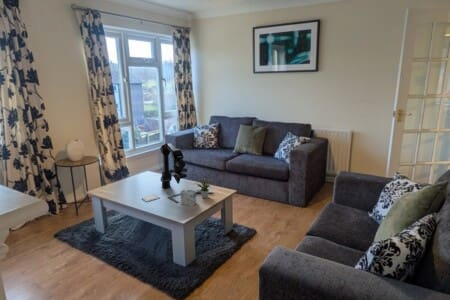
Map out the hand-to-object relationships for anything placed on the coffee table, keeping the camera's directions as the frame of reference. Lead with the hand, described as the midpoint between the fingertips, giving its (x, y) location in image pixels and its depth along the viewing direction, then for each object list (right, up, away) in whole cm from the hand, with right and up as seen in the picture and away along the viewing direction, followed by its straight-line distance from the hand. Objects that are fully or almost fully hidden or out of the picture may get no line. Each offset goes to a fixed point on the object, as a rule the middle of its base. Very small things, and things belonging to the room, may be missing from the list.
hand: (178, 183), depth 239 cm
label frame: (+1, -13, +2) cm, 13 cm away
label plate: (-23, -13, +4) cm, 27 cm away
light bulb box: (+9, -15, -7) cm, 19 cm away
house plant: (+22, -12, +7) cm, 26 cm away
